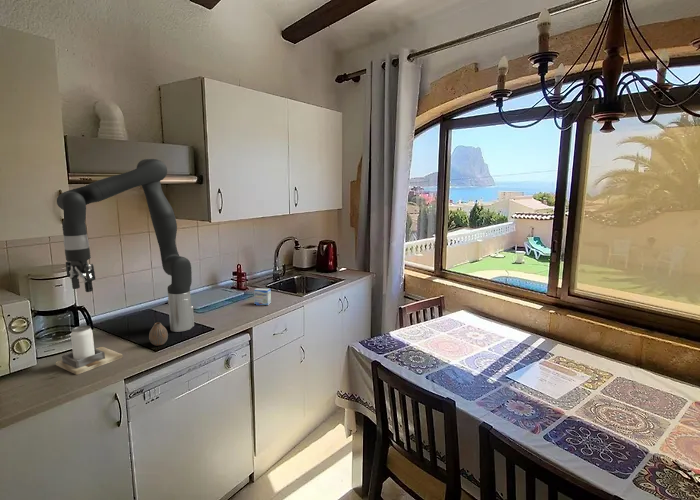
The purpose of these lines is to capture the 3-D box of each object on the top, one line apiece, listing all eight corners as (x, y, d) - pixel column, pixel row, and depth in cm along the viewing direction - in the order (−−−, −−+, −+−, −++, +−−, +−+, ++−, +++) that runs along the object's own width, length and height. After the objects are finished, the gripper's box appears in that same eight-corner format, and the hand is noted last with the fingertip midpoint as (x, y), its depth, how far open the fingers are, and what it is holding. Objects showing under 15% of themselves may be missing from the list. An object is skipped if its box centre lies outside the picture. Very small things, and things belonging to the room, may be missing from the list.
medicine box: (254, 305, 213) (253, 289, 212) (257, 302, 218) (257, 287, 216) (268, 306, 212) (267, 290, 211) (271, 303, 216) (270, 288, 215)
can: (84, 364, 140) (81, 332, 138) (69, 362, 141) (65, 331, 139) (99, 356, 146) (96, 326, 144) (84, 355, 147) (81, 324, 145)
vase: (172, 341, 164) (170, 321, 162) (159, 348, 157) (157, 327, 156) (159, 339, 166) (157, 319, 165) (145, 345, 160) (144, 325, 158)
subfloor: (102, 349, 156) (101, 340, 155) (122, 357, 149) (122, 348, 148) (56, 365, 142) (54, 355, 141) (76, 374, 135) (75, 364, 135)
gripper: (99, 247, 144) (104, 290, 147) (77, 244, 150) (82, 285, 153) (76, 250, 137) (82, 295, 140) (55, 247, 144) (61, 290, 147)
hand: (82, 290), depth 147 cm, fingers open, 8 cm apart
